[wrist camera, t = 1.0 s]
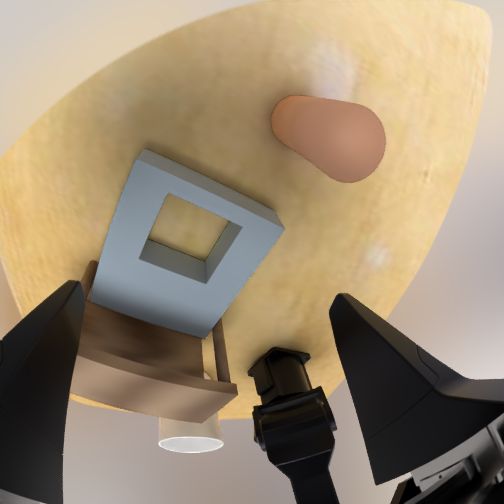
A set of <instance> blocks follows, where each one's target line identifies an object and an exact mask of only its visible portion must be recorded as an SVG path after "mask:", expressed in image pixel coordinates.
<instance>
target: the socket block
mask: <svg viewBox="0 0 504 504" xmlns="http://www.w3.org/2000/svg"><path fill="white" fill-rule="evenodd" d="M168 193H169V194H172V195H174V196H176V197H178V198H181V199H183V200H185V201H187V202H189V203H192V204H194V205H196V206H198V207H201V208H203V209H205V210H207V211H209V212H212V213H214V214H216V215H218V216H220V217H223V218H225V219H227V220H229V223H228V225H227V226H226V228H225V229H224V231H223V233H222V234H221V236H220V238H219V239H218V241H217V242H216V244H215V246H214V247H213V249H212V251H211V252H210V254H209V256H208V257H207V259H206V261H205V262H204V261H202V260H199V259H196V258H194V257H191V256H189V255H186V254H184V253H181V252H179V251H176V250H174V249H171V248H169V247H166V246H164V245H161V244H159V243H156V242H154V241H151V240H149V239H147V237H148V235H149V233H150V230H151V228H152V226H153V224H154V221H155V219H156V217H157V215H158V213H159V211H160V208H161V206H162V204H163V202H164V200H165V198H166V196H167V194H168ZM284 230H285V228H284V226H283V225H282V223H281V221H280V219H279V218H278V216H277V214H276V212H275V211H273V210H272V209H270V208H268V207H266V206H264V205H262V204H260V203H258V202H256V201H254V200H252V199H250V198H248V197H246V196H244V195H242V194H240V193H238V192H236V191H235V190H233V189H230V188H228V187H226V186H224V185H222V184H220V183H218V182H216V181H214V180H212V179H210V178H208V177H206V176H204V175H202V174H200V173H198V172H196V171H193V170H191V169H189V168H187V167H185V166H183V165H181V164H178V163H176V162H174V161H172V160H170V159H168V158H165V157H163V156H161V155H159V154H157V153H154V152H152V151H150V150H148V149H144V150H143V151H142V153H141V154H140V155H139V156H138V157H137V158H136V160H135V162H134V165H133V167H132V169H131V172H130V174H129V177H128V179H127V181H126V184H125V186H124V189H123V192H122V194H121V197H120V199H119V202H118V205H117V208H116V210H115V213H114V216H113V219H112V222H111V225H110V228H109V231H108V234H107V237H106V240H105V244H104V247H103V250H102V254H101V257H100V261H99V265H98V268H97V272H96V276H95V280H94V284H93V288H92V293H91V297H90V301H91V302H93V303H96V304H98V305H101V306H104V307H106V308H109V309H112V310H114V311H117V312H120V313H123V314H126V315H128V316H131V317H134V318H137V319H140V320H143V321H146V322H149V323H152V324H155V325H159V326H162V327H165V328H168V329H172V330H175V331H178V332H182V333H185V334H189V335H192V336H196V337H200V338H203V339H205V338H206V336H207V335H208V334H209V332H210V331H211V330H212V328H213V327H214V326H215V324H216V323H217V322H218V320H219V319H220V318H221V316H222V315H223V314H224V312H225V311H226V310H227V308H228V307H229V305H230V304H231V303H232V301H233V300H234V299H235V297H236V296H237V295H238V293H239V292H240V291H241V289H242V288H243V287H244V285H245V284H246V282H247V281H248V280H249V278H250V277H251V276H252V274H253V273H254V272H255V270H256V269H257V267H258V266H259V265H260V263H261V262H262V261H263V259H264V258H265V256H266V255H267V254H268V252H269V251H270V250H271V248H272V247H273V245H274V244H275V243H276V241H277V240H278V239H279V237H280V236H281V234H282V233H283V232H284Z"/></svg>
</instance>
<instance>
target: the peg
mask: <svg viewBox="0 0 504 504" xmlns="http://www.w3.org/2000/svg"><path fill="white" fill-rule="evenodd" d="M271 124H272V129H273V131H274V133H275V135H276V136H277V138H278V139H279V140H280V141H282V142H283V143H284V144H286V145H287V146H289V147H290V148H291V149H293V150H294V151H296V152H297V153H298V154H300V155H301V156H303V157H304V158H305V159H307V160H308V161H309V162H311V163H312V164H313V165H315V166H316V167H317V168H319V169H320V170H321V171H323V172H324V173H325V174H326V175H328V176H329V177H330V178H332V179H334V180H336V181H339V182H344V183H352V182H357V181H360V180H362V179H364V178H366V177H368V176H369V175H370V174H372V173H373V172H374V171H375V169H376V168H377V167H378V165H379V164H380V162H381V160H382V158H383V155H384V151H385V145H386V137H385V131H384V128H383V125H382V123H381V121H380V120H379V118H378V117H377V116H376V114H375V113H374V112H372V111H371V110H370V109H368V108H367V107H365V106H362V105H359V104H354V103H349V102H344V101H338V100H331V99H325V98H318V97H310V96H301V95H294V96H289V97H287V98H285V99H283V100H282V101H280V102H279V103H278V104H277V106H276V107H275V109H274V111H273V113H272V118H271Z"/></svg>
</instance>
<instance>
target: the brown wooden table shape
mask: <svg viewBox="0 0 504 504" xmlns="http://www.w3.org/2000/svg"><path fill="white" fill-rule="evenodd" d="M98 265H99V264H98V263H97V262H96V261H91V262H90V263H89V265H88V267H87V269H86V271H85V273H84V276H83V278H82V280H81V285H82V289H83V293H84V297H85V310H84V316H83V323H82V329H81V336H80V343H79V349H78V353H77V358H76V362H75V367H74V372H73V377H72V382H71V388H70V393H72V394H75V395H78V396H80V397H83V398H86V399H90V400H93V401H96V402H99V403H102V404H106V405H109V406H113V407H117V408H121V409H124V410H128V411H133V412H137V413H141V414H146V415H151V416H156V417H161V418H167V419H173V420H179V421H186V422H193V423H201V424H202V423H203V422H205V421H206V420H207V419H209V418H210V417H211V416H212V415H214V414H215V413H216V412H218V411H219V410H220V409H221V408H223V407H224V406H225V405H226V404H228V403H229V402H230V401H231V400H232V399H234V398H235V397H236V396H237V395H238V391H237V385H236V384H233V383H231V381H230V374H229V368H228V361H227V354H226V347H225V340H224V333H223V326H222V318H220V319H219V320H218V322H217V323H216V324H215V326H214V327H213V328H212V332H213V342H214V351H215V360H216V369H217V377H218V381H215V380H209V379H204V369H203V356H202V342H201V338H197V337H193V336H190V335H186V334H183V333H179V332H176V331H172V330H169V329H166V328H162V327H159V326H156V325H153V324H150V323H147V322H144V321H141V320H138V319H135V318H132V317H129V316H126V315H123V314H120V313H118V312H115V311H112V310H109V309H107V308H104V307H101V306H99V305H96V304H94V303H91V302H89V301H86V298H87V296H88V293H89V290H90V288H91V285H92V283H93V280H94V278H95V275H96V272H97V268H98Z"/></svg>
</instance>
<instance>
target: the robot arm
mask: <svg viewBox="0 0 504 504" xmlns="http://www.w3.org/2000/svg"><path fill="white" fill-rule="evenodd" d="M84 310H85V297H84V293H83V289H82V285H81V282H80V281H77V280H68V281H67V282H66V283H64V284H63V285H62V286H61V287H59V288H58V289H57V290H56V291H55V292H53V293H52V294H51V295H50V296H49V297H47V298H46V299H45V300H44V301H43V302H42V303H40V304H39V305H38V306H37V307H36V308H35V309H34V310H32V311H31V312H30V313H29V314H28V315H27V316H26V317H25V318H23V319H22V320H21V321H20V322H19V323H18V324H17V325H16V326H15V327H14V328H13V329H12V330H11V331H9V332H8V333H7V334H6V335H5V336H4V337H3V338H2V340H0V504H39V502H42V503H46V504H63V478H62V477H63V476H62V475H63V455H62V454H63V446H64V432H65V424H66V415H67V408H68V401H69V394H70V388H71V382H72V377H73V372H74V367H75V362H76V358H77V353H78V349H79V343H80V336H81V329H82V323H83V316H84ZM329 317H330V321H331V325H332V330H333V334H334V339H335V343H336V348H337V351H338V354H339V358H340V361H341V364H342V367H343V370H344V373H345V376H346V379H347V383H348V386H349V389H350V393H351V396H352V399H353V403H354V406H355V409H356V413H357V416H358V420H359V423H360V427H361V431H362V434H363V438H364V441H365V446H366V449H367V453H368V457H369V461H370V465H371V469H372V473H373V478H374V482H375V484H376V485H379V484H382V483H385V482H387V481H390V480H392V479H395V478H397V477H399V476H402V475H404V474H406V473H408V472H411V474H412V476H411V477H410V478H408V479H406V480H404V481H403V482H401V483H399V484H398V486H397V489H396V491H395V494H394V496H393V498H392V501H391V503H390V504H504V379H487V380H485V379H484V380H474V379H469V378H465V377H463V376H462V375H460V374H459V373H457V372H455V371H454V370H453V369H451V368H450V367H448V366H447V365H445V364H443V363H442V362H440V361H439V360H437V359H436V358H435V357H433V356H432V355H430V354H429V353H428V352H426V351H425V350H424V349H422V348H421V347H420V346H418V345H416V343H414V342H413V341H412V340H410V339H409V338H408V337H406V336H405V335H404V334H403V333H401V332H400V331H398V330H397V329H396V328H394V327H393V326H392V325H390V324H389V323H388V322H386V321H385V320H384V319H382V318H381V317H380V316H378V315H377V314H376V313H374V312H373V311H372V310H370V309H369V308H368V307H366V306H365V305H363V304H362V303H361V302H359V301H358V300H357V299H355V298H354V297H352V296H351V295H350V294H348V293H339V294H337V295H336V297H335V299H334V301H333V303H332V305H331V307H330V310H329ZM310 358H311V357H310V354H305V353H300V352H295V351H290V350H285V349H280V348H272V349H271V350H270V351H269V352H268V353H267V354H266V355H265V356H264V357H263V358H262V359H261V360H260V361H259V362H258V363H257V364H256V365H255V366H254V367H253V368H251V369H250V370H249V371H248V376H250V377H254V381H255V386H256V390H257V394H258V395H259V396H260V397H261V402H262V405H259V406H258V405H257V406H253V408H254V411H253V412H252V415H253V419H254V441H255V442H256V443H258V444H259V445H260V447H261V449H262V450H263V451H264V452H265V451H266V452H267V456H268V459H269V461H270V462H271V463H272V464H274V465H275V466H276V467H277V468H278V469H279V470H280V471H282V472H283V473H284V474H285V475H286V476H287V477H288V478H289V479H290V481H291V484H292V488H293V492H294V495H295V499H296V502H297V504H340V503H339V500H338V497H337V494H336V491H335V488H334V485H333V482H332V479H331V476H330V472H329V465H330V462H331V458H332V455H333V452H334V448H335V439H334V436H333V433H332V432H333V431H336V430H337V427H336V423H335V419H334V416H333V413H332V411H331V408H330V406H329V404H328V401H327V399H326V396H325V394H324V392H323V389H322V387H321V386H319V387H317V388H315V389H312V386H311V383H310V380H309V377H308V375H307V372H306V369H305V366H304V364H305V363H306V362H307V361H308V360H309V359H310Z"/></svg>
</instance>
